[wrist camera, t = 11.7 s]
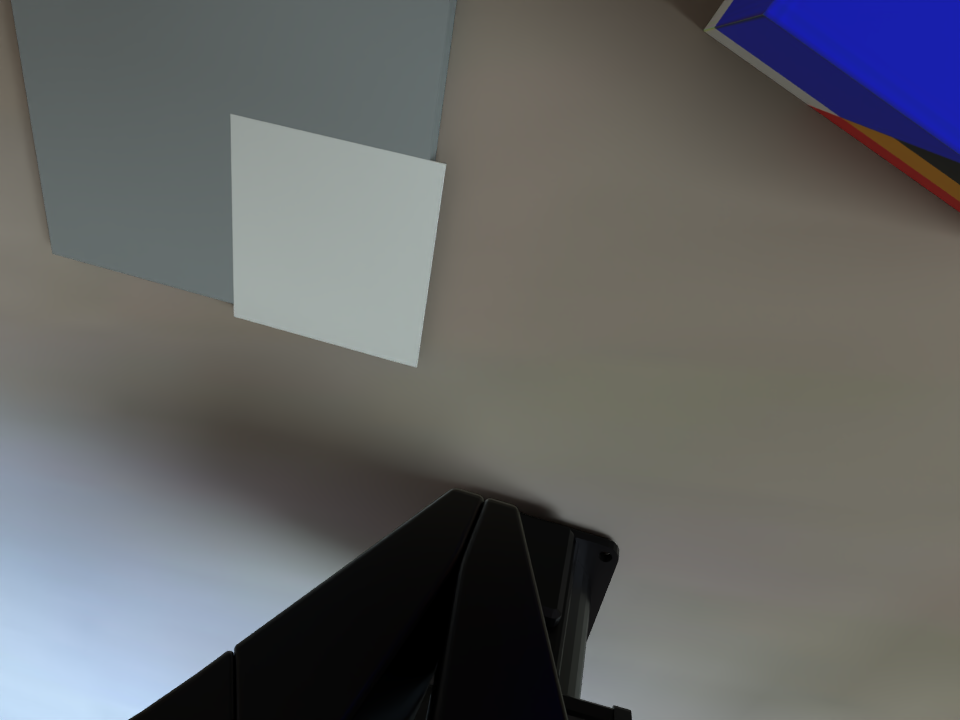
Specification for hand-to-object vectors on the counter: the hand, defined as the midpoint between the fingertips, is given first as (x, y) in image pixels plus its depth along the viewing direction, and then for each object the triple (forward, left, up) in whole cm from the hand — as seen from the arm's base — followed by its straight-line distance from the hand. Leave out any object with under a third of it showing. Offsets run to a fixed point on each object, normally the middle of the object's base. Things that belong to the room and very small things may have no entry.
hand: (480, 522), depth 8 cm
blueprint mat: (+4, +12, -13) cm, 18 cm away
